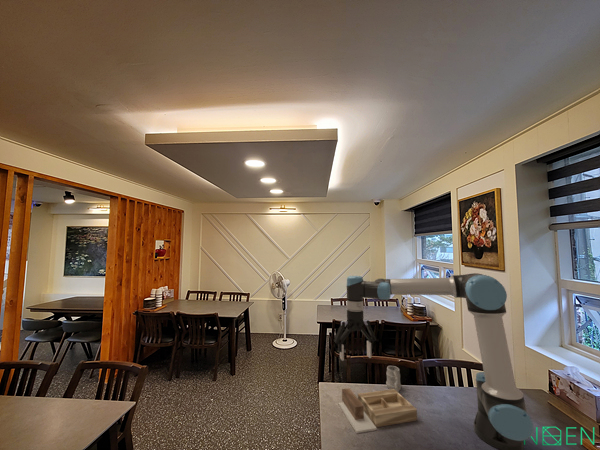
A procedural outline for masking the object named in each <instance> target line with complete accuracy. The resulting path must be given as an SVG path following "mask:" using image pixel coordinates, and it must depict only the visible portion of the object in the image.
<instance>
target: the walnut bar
mask: <svg viewBox="0 0 600 450" xmlns="http://www.w3.org/2000/svg"><path fill="white" fill-rule="evenodd" d="M341 400H342V401H341V402H344V404H345V405H346V407H347V408H348V410H349V411H350V413H351V414H352V416H353V417H354V419H355V420H357V419H364V406H363V405H362V403H361V402H360V401H359V400H358V396H356V395H355V393H354V392H353V391H352V389H351V388H342V389H341Z"/></svg>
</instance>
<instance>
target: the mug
mask: <svg viewBox="0 0 600 450" xmlns="http://www.w3.org/2000/svg"><path fill="white" fill-rule="evenodd" d="M400 371H401V370H400V368H399V367H397V366H395V365H388V366H387V367H386V381H385V384H386V388H387V390H390V389H395V390H396V391H397V392H398V393H399V392H400V391H401V388H402V384H401V373H400Z"/></svg>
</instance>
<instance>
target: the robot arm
mask: <svg viewBox="0 0 600 450" xmlns="http://www.w3.org/2000/svg"><path fill="white" fill-rule="evenodd" d="M393 295H396V296H397V295H398V296H399V295H402V296H405V295H406V296H410V295H411V296H453V297H454V298H455V299H457V298H459V299H461V298H463V299H465V301H466V302H465V303H466V305H467V306H466V307H467V310H468V311H467V312H469V313H470V314H471V315H472V316H473V319H474V325H475V330H476V337H477V342H478V347H479V354H480V357H481V363H482V364H481V365H482V370H483V371H479V372H477V373H476V374H475V383H476V385H475V386H476V399H477V401H476V402H477V412H476V415H475V417H474V421H473V430H474V433H475V434H476V436H477V437H478V438H479V439H481V440H482V441H483V442H484V443H486V444H488V445H489V446H491V447H494V448H496V449H498V450H524V441H526V440H528V439H529V438H531V437H532V436H533V435H534V431H535V426H534V421H533V420H532V418H531V416H530V414H529V413H528V411H527V406H526V403H525V402H526V401H525V396H524V393H523V391H521V389H519V388H518V387H517V384H516V380H515V375H514V369H513V365H512V360H511V355H510V350H509V345H508V340H507V334H506V329H505V326H504V319H503V317H504V315H506V314H507V307H506V302H507V299H508V298H507V297H508V293H507V291H506V288H505V286H503V284H502V283H501V281H499V280H498V279H496V278H494V277H492V276H489V275H487V274H482V273H479V272H478V273H476V272H474V273H467V274H466V273H465V274H459V275H458V274H454V275H450V277H427V278H426V277H425V278H423V277H422V278H421V277H420V278H419V277H417V278H416V277H415V278H377V279H375V280H374V281H370V280H369V281H367V280H364V278H363V277H362V276H360V275H349V276H347V278H346V321H344V320H340V322H339V323H340V325H339V327H338V329H337V332H336V334H335V336H334V339H333V342H334V343H335V344H336V345H337V351H338V352H339V359H340V360H341V361H342V362H343V361H345V353H344V351H345V349H344V348H345V346H344V344H343V343H344V342H345V341H346V339H347V338H348V337H349V335H350V334H351V333H352V332H361V333H362V334H363V336H364V337H365V338H366V339H367V340H366V356H367V357H368V358H369V359H371V358H372V350H373V349H374V346H373V344H374V343H375V341H377V337H376V335H375V333H374V330H373V328H372V326H371V321H370V320H368V319H367V318H366V319H364V298H365V299H375V300H381V301H383V300H386V301H387V300H390V299H391V296H393ZM364 325H365V327H366V329H367V331H368V332H367V331H366V329H365V328H364V327H363V326H364Z"/></svg>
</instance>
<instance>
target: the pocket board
mask: <svg viewBox="0 0 600 450" xmlns="http://www.w3.org/2000/svg"><path fill="white" fill-rule="evenodd" d="M357 398H358V400H359V401H360V402H361V403H362V405H363V406H364V412H365V413H366V415H367V416H368V417H369V419H370V420H371V421H372V423H373V424H374V425H375V426H376V428H380V427H385V426H386V427H387V426H391V425H398V424H403V423H409V422H410V423H411V422H415V421H418V415H417V414H418V409H417V408H416V407H415V406H414V405H413V404H412V403H411V402H410V401H408V400H407V399H406V398H405V397H404V396H403V395H401V394H400V393H399V392H397V391H396V390H395V389H383V390H376V391H369V392H359V393H357Z"/></svg>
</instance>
